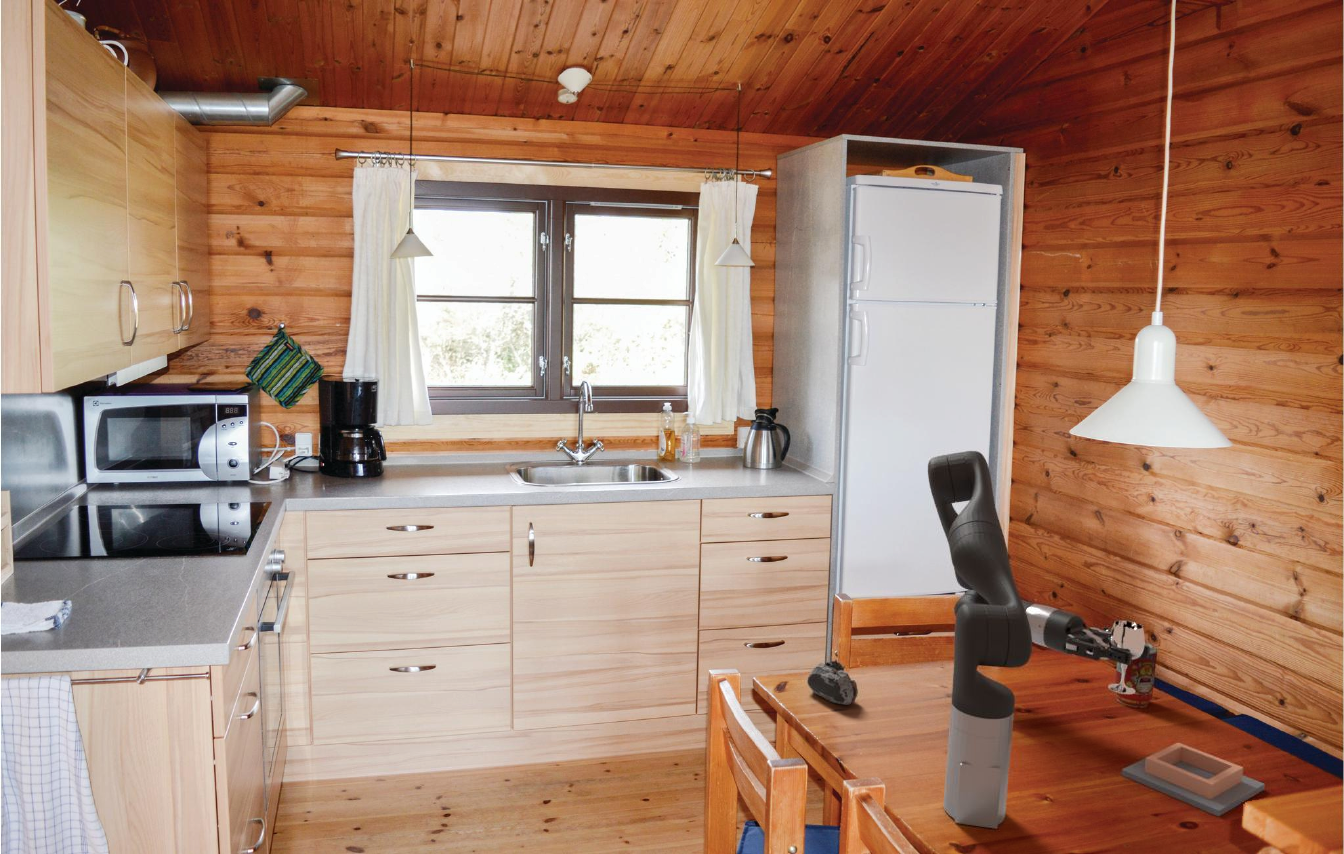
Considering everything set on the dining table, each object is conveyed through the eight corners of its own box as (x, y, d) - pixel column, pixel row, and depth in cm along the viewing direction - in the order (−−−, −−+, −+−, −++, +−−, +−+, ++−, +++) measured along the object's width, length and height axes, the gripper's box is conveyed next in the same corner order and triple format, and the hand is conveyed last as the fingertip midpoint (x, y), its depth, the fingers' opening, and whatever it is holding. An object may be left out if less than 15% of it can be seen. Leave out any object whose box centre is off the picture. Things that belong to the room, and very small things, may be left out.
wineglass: (1105, 680, 180) (1112, 617, 178) (1140, 687, 177) (1147, 623, 175) (1103, 690, 174) (1109, 626, 173) (1138, 698, 172) (1145, 632, 170)
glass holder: (1264, 789, 164) (1266, 769, 163) (1218, 816, 154) (1220, 795, 154) (1168, 751, 177) (1171, 733, 176) (1121, 774, 167) (1123, 755, 167)
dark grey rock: (845, 714, 188) (879, 699, 195) (846, 679, 187) (880, 665, 194) (800, 693, 198) (834, 680, 204) (800, 660, 197) (834, 648, 203)
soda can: (1131, 710, 194) (1137, 651, 193) (1105, 696, 201) (1111, 638, 199) (1159, 707, 197) (1166, 648, 195) (1133, 693, 203) (1138, 636, 202)
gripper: (1032, 615, 181) (1121, 642, 168) (1075, 603, 190) (1162, 628, 177) (1029, 654, 182) (1116, 684, 169) (1071, 640, 191) (1157, 668, 178)
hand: (1139, 655), depth 173 cm, fingers closed on wineglass, 5 cm apart
